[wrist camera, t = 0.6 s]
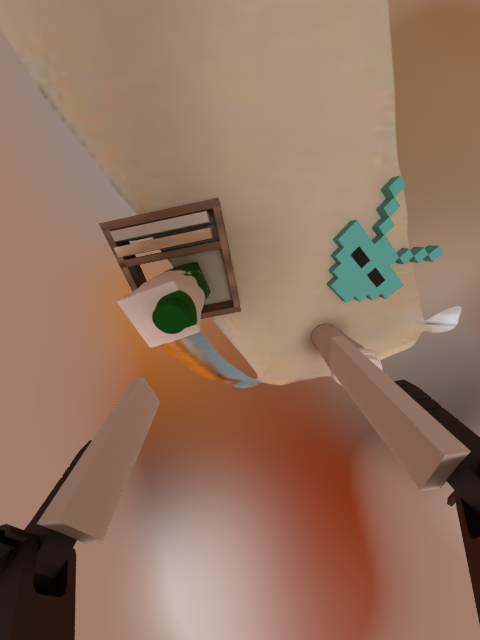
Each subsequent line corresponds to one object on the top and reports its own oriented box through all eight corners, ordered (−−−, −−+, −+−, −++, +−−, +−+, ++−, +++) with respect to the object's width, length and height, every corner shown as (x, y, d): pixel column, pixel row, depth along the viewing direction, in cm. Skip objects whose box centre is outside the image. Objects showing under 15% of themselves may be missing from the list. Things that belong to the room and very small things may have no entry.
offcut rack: (115, 224, 32) (98, 223, 28) (219, 202, 31) (218, 197, 27) (158, 319, 41) (150, 328, 37) (239, 303, 41) (240, 311, 37)
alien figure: (389, 179, 32) (307, 264, 38) (400, 175, 30) (312, 266, 36) (431, 252, 38) (355, 314, 44) (442, 253, 36) (361, 318, 42)
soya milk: (215, 294, 39) (203, 342, 22) (180, 306, 40) (141, 363, 22) (199, 256, 35) (168, 277, 18) (161, 270, 36) (94, 305, 19)
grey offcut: (130, 232, 33) (109, 231, 27) (210, 215, 32) (206, 210, 27) (134, 240, 34) (114, 241, 28) (212, 224, 33) (208, 221, 27)
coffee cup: (339, 313, 43) (387, 348, 30) (342, 342, 48) (385, 384, 34) (303, 325, 45) (334, 364, 31) (308, 352, 49) (338, 397, 35)
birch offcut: (136, 245, 34) (113, 247, 27) (213, 229, 34) (209, 227, 27) (139, 253, 35) (118, 257, 28) (215, 237, 34) (212, 237, 27)
